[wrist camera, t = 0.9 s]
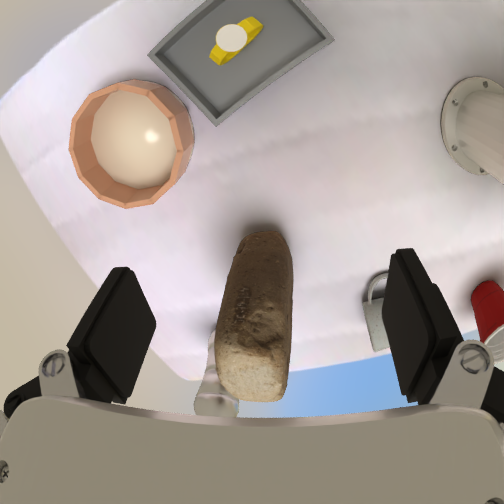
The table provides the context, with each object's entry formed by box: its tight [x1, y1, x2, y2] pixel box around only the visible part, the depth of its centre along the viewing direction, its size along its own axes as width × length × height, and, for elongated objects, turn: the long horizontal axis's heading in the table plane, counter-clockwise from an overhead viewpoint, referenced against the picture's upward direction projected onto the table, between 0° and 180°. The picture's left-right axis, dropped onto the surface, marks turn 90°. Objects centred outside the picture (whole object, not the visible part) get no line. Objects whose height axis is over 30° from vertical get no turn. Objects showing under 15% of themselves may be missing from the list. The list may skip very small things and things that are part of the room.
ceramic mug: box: [363, 273, 390, 352], centre depth 41 cm, size 11×8×8 cm
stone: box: [214, 231, 293, 402], centre depth 34 cm, size 12×7×20 cm, turn 7°
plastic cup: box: [471, 280, 504, 364], centre depth 36 cm, size 11×11×12 cm
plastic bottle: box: [194, 330, 239, 417], centre depth 44 cm, size 6×7×20 cm
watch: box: [209, 17, 263, 65], centre depth 24 cm, size 6×3×6 cm, turn 135°
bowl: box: [69, 79, 194, 209], centre depth 32 cm, size 14×14×5 cm
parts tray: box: [147, 0, 335, 127], centre depth 25 cm, size 15×11×3 cm
